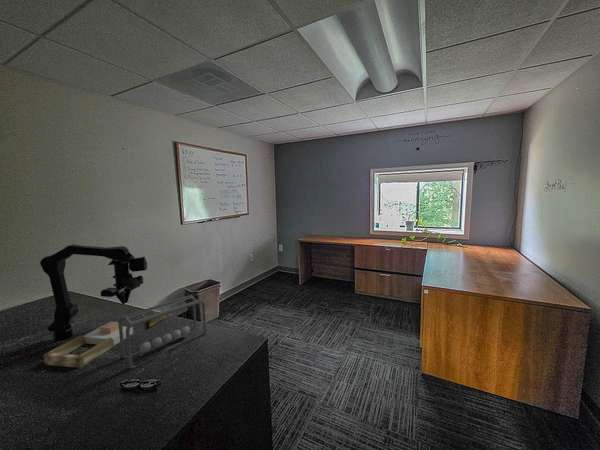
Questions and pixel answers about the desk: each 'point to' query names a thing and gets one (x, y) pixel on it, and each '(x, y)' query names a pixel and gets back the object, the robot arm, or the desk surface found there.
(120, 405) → the desk surface
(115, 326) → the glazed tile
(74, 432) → the desk surface
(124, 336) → the plate
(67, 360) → the box
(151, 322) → the shard
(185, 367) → the desk surface
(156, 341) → the newton's cradle
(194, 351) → the desk surface
